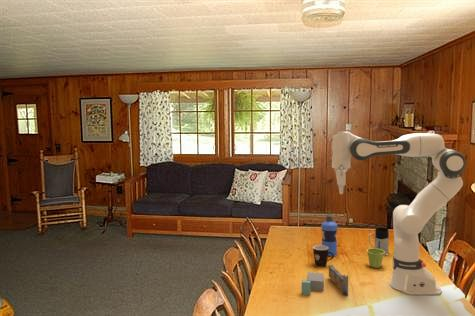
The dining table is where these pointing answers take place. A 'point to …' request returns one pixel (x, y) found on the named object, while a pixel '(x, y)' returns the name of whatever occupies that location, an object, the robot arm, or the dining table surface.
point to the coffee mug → (321, 255)
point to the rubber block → (316, 281)
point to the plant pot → (375, 257)
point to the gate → (336, 276)
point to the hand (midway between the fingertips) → (340, 192)
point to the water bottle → (329, 235)
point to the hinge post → (345, 285)
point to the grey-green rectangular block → (306, 287)
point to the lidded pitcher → (381, 239)
